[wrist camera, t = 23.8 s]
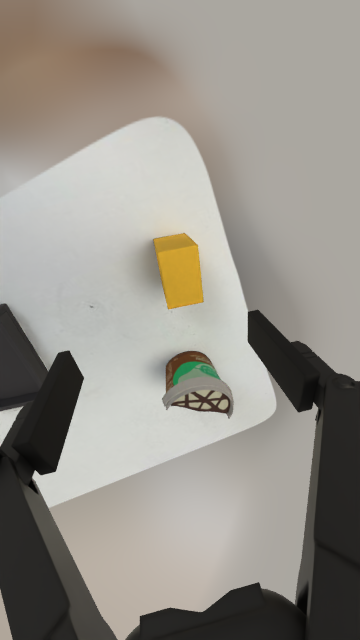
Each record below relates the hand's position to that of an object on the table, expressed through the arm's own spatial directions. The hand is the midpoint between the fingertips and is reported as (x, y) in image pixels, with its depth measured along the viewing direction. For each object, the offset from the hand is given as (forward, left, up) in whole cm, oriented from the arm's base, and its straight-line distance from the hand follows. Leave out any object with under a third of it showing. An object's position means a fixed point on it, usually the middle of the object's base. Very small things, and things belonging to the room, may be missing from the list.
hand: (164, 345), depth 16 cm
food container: (+19, +4, -19) cm, 27 cm away
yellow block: (-1, +3, -19) cm, 19 cm away
